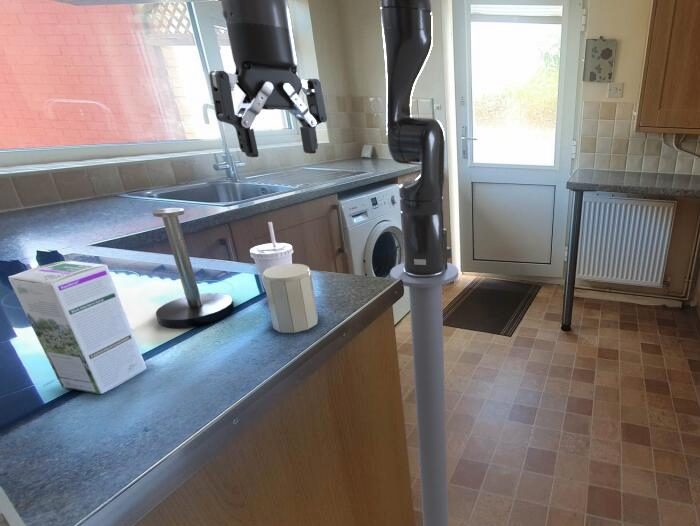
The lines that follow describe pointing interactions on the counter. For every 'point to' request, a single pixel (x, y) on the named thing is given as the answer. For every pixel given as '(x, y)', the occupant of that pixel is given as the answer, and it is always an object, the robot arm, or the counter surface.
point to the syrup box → (80, 324)
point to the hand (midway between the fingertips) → (283, 154)
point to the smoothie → (271, 254)
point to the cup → (290, 297)
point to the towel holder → (188, 284)
